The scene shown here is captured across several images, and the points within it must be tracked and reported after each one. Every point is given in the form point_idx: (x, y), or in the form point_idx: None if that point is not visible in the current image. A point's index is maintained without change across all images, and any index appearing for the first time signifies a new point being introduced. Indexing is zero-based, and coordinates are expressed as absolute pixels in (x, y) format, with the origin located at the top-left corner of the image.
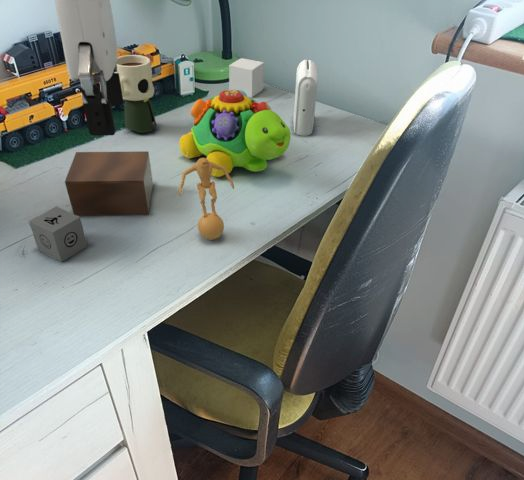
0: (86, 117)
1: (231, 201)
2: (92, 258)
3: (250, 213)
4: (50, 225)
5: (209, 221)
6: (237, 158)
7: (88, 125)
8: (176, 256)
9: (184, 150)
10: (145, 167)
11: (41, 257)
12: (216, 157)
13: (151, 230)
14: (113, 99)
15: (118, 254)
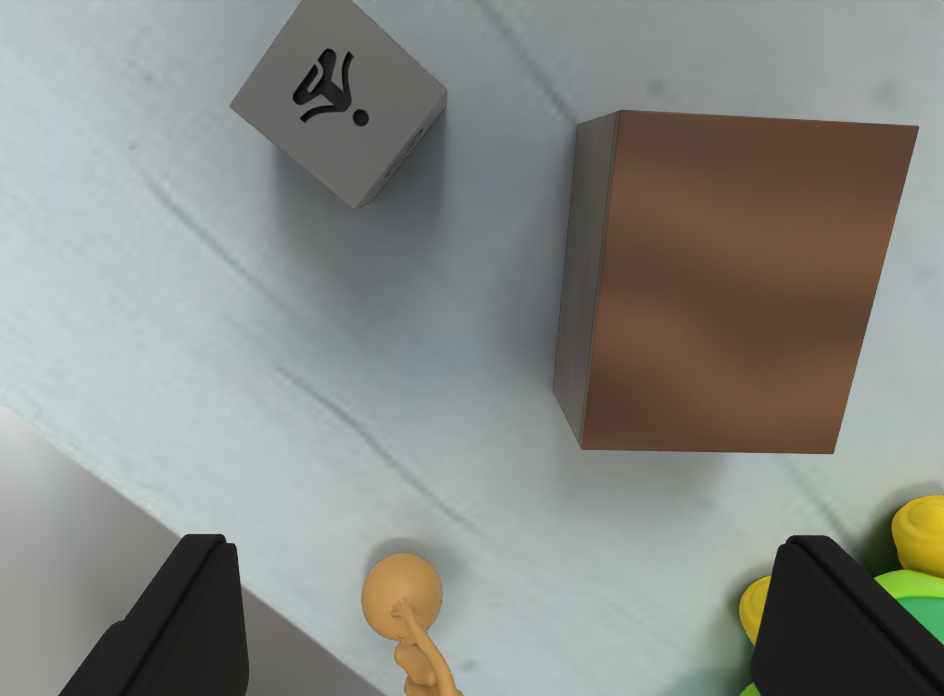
0: (113, 640)
1: (597, 620)
2: (298, 226)
3: (523, 663)
4: (284, 87)
5: (375, 616)
6: None
7: (152, 585)
8: (310, 478)
9: (920, 519)
10: (691, 450)
11: None
12: None
13: (455, 403)
14: (783, 659)
15: (321, 310)
